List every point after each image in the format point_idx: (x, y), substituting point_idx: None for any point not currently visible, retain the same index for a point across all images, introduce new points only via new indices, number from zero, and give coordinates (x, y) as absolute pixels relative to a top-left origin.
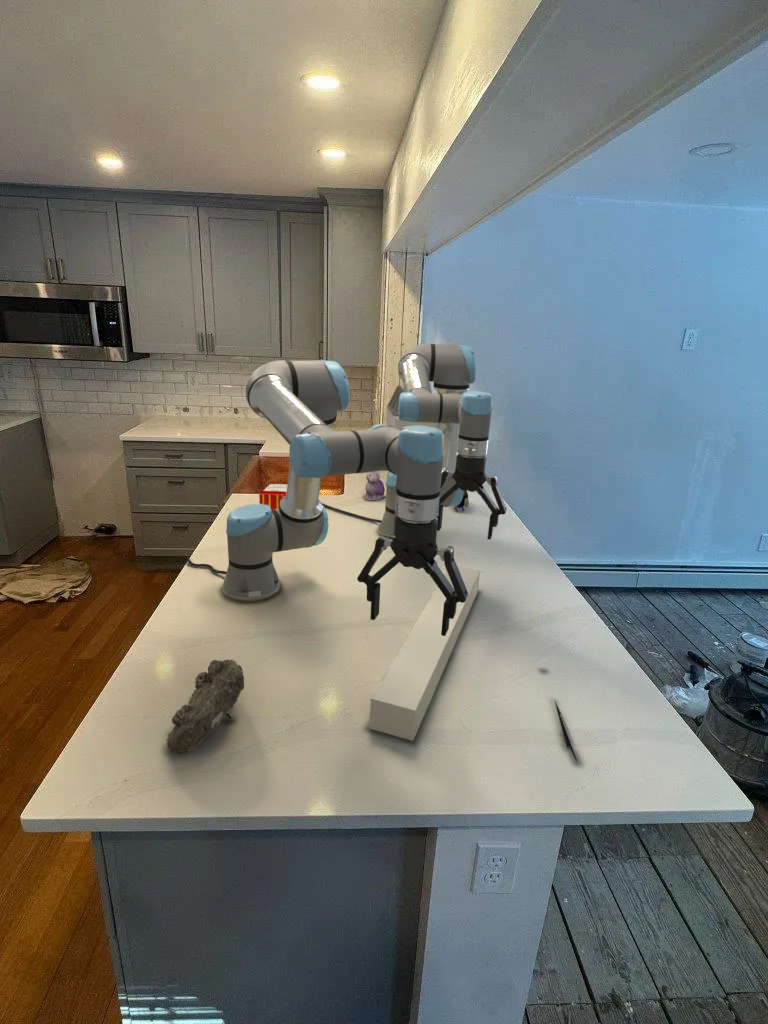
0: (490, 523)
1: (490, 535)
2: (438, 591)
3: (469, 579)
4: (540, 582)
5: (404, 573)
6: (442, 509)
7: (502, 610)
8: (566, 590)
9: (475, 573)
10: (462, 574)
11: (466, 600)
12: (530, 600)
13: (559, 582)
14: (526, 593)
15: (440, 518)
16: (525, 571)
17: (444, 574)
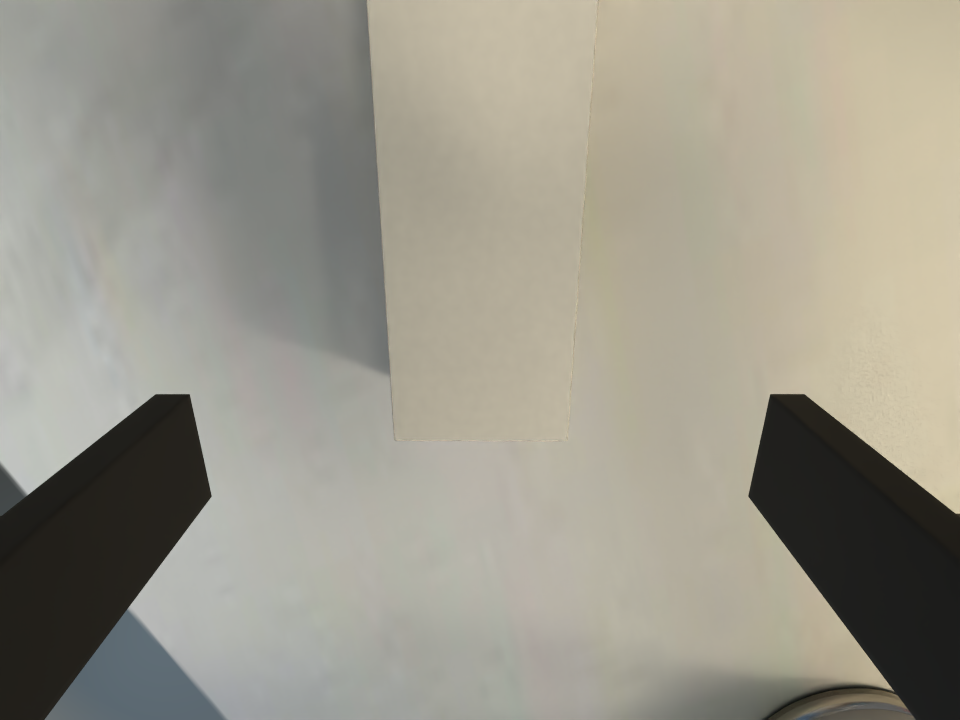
0: (23, 523)
1: (129, 420)
2: (568, 40)
3: (420, 299)
4: (188, 560)
5: None
6: (926, 687)
7: (258, 254)
8: None
9: (407, 388)
10: (473, 346)
11: (367, 2)
12: None
13: None
14: (210, 451)
15: (864, 510)
16: (271, 623)
17: (575, 303)
